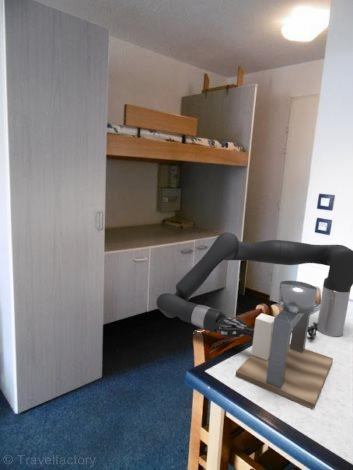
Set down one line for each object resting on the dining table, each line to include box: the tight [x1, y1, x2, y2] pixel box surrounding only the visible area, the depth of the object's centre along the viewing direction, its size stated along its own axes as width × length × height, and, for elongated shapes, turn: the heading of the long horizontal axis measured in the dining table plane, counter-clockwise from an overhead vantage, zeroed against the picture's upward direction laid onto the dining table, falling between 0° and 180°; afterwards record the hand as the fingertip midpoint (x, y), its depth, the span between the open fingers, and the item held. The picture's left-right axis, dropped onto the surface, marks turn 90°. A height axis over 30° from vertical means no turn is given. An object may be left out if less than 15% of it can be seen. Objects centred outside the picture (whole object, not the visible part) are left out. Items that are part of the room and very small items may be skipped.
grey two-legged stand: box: [266, 280, 318, 389], centre depth 95 cm, size 26×10×24 cm, turn 146°
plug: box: [250, 312, 276, 360], centre depth 101 cm, size 5×6×12 cm
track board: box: [235, 345, 334, 410], centre depth 98 cm, size 27×21×2 cm
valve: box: [291, 321, 319, 341], centre depth 121 cm, size 7×7×12 cm
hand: (256, 334), depth 102 cm, fingers closed
